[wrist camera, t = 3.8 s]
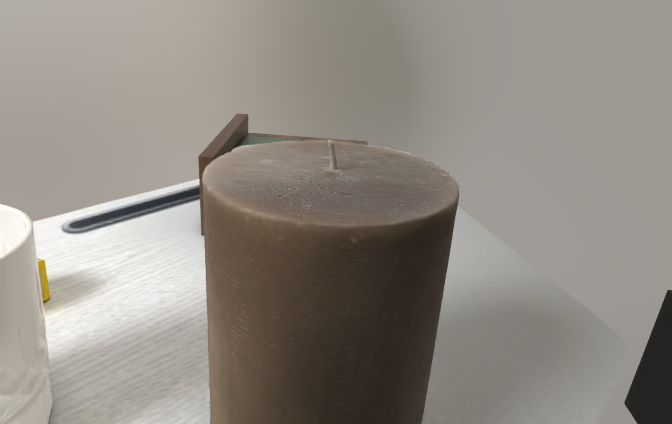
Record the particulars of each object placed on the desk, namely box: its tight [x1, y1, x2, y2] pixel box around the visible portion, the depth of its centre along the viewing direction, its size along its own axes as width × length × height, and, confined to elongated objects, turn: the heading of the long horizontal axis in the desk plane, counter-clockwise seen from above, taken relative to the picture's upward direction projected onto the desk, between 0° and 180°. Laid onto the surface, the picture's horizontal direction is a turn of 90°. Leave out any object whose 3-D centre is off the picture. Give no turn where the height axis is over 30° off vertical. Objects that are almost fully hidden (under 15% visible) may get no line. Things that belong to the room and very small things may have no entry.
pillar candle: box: [202, 140, 459, 424], centre depth 22 cm, size 10×10×15 cm
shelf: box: [199, 114, 368, 235], centre depth 49 cm, size 14×15×7 cm
